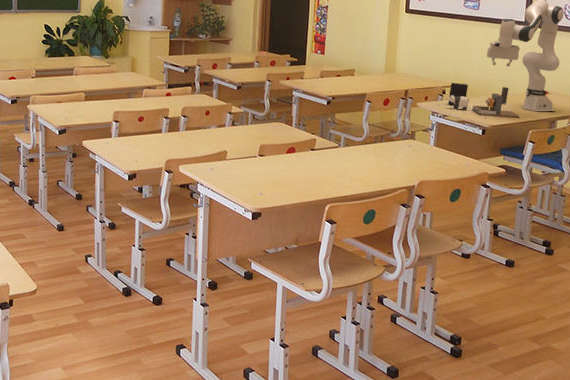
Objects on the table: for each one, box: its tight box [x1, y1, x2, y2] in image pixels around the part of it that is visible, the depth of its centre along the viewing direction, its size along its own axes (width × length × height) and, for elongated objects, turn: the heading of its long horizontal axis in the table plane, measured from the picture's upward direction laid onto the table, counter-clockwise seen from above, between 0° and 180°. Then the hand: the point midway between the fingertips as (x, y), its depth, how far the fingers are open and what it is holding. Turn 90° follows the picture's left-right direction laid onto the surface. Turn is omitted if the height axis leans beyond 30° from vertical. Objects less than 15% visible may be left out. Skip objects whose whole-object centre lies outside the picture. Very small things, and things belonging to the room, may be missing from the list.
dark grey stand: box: [471, 93, 520, 119], centre depth 542 cm, size 27×16×13 cm, turn 94°
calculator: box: [448, 82, 469, 106], centre depth 561 cm, size 11×4×15 cm, turn 84°
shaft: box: [485, 86, 509, 105], centre depth 540 cm, size 13×3×11 cm, turn 94°
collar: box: [486, 97, 494, 108], centre depth 541 cm, size 2×6×5 cm, turn 4°
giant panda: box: [446, 95, 470, 111], centre depth 548 cm, size 15×6×10 cm, turn 91°
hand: (500, 65), depth 534 cm, fingers open, 8 cm apart
